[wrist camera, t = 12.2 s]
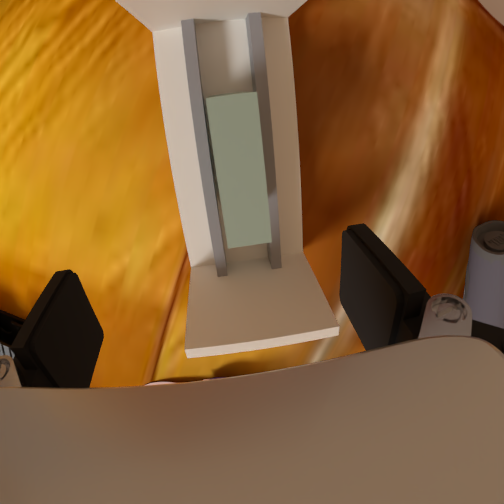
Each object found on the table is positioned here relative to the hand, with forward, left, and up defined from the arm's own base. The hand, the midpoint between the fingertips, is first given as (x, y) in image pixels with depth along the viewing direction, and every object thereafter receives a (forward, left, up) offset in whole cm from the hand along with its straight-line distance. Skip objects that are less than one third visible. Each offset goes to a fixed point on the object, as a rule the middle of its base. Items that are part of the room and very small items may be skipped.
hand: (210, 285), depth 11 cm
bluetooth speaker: (+22, +38, -23) cm, 50 cm away
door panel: (-1, +2, -20) cm, 21 cm away
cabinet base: (-1, +2, -22) cm, 23 cm away
